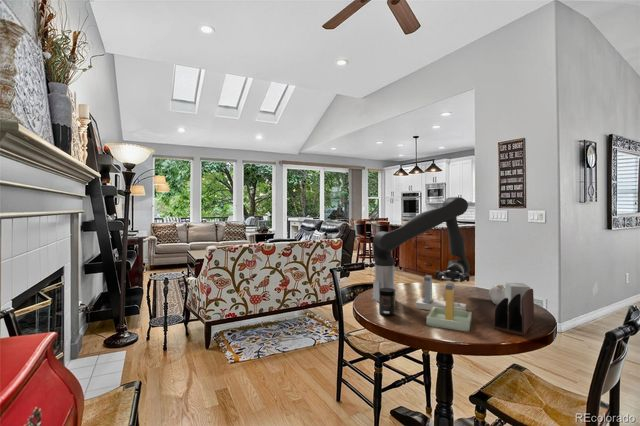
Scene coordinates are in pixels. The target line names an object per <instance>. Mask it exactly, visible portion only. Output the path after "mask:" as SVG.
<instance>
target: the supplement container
mask: <svg viewBox="0 0 640 426" xmlns="http://www.w3.org/2000/svg"><path fill="white" fill-rule="evenodd" d="M378 312H379V314H380V315H381V316H384V317H393V316H394V315H395V314H396V289H395V288H394V289H392V288H380V289H379V302H378Z"/></svg>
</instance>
